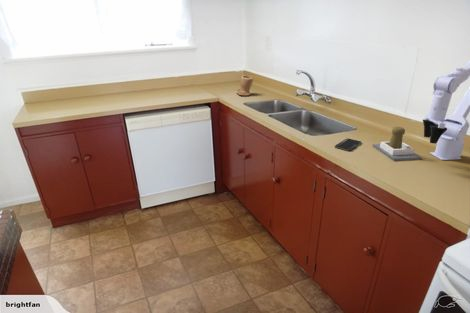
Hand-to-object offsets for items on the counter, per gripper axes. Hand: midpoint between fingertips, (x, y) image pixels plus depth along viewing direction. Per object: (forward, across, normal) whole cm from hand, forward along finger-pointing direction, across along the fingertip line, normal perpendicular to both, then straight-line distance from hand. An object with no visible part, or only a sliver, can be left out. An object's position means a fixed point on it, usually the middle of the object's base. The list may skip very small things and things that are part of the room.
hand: (429, 140), depth 128 cm
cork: (+10, -10, -10) cm, 17 cm away
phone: (+11, -14, -29) cm, 34 cm away
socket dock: (+10, -10, -9) cm, 17 cm away
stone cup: (+11, -111, -100) cm, 150 cm away
